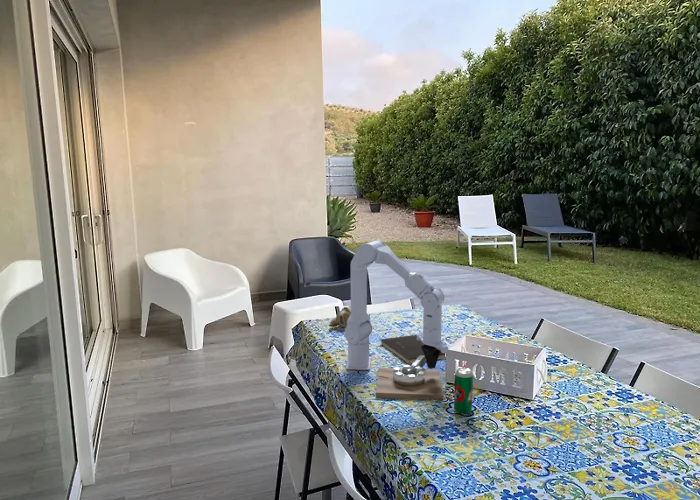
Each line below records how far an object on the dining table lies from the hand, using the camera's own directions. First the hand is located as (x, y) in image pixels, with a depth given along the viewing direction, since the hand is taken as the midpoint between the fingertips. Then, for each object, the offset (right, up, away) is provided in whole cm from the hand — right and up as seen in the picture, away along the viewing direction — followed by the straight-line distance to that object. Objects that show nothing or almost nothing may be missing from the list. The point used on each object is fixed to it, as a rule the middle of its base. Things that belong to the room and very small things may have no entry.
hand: (431, 367), depth 181 cm
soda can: (+6, -8, -21) cm, 23 cm away
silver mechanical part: (-6, -2, +1) cm, 6 cm away
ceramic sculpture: (-28, +5, +58) cm, 64 cm away
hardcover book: (-3, 0, +28) cm, 29 cm away
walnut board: (-8, -5, -3) cm, 9 cm away
